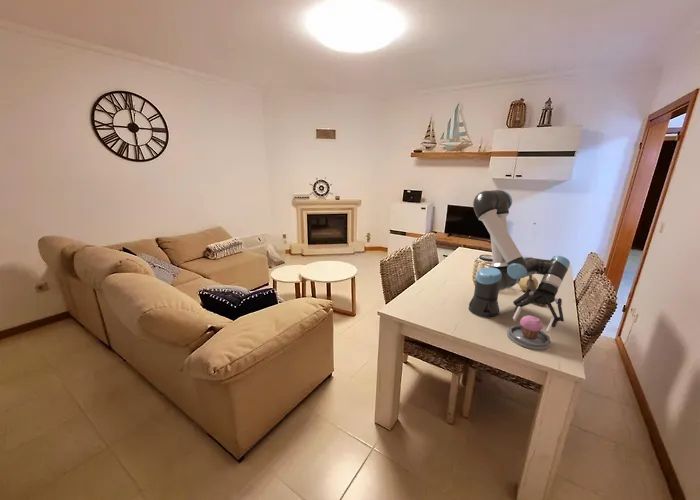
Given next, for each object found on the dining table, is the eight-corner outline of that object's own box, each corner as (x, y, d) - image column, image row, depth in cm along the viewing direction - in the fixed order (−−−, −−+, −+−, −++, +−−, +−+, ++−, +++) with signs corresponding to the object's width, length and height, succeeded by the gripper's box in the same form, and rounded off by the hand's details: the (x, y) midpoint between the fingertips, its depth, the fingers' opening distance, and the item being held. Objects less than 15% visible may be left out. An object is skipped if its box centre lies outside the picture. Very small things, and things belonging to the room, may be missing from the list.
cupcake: (544, 341, 129) (549, 321, 126) (525, 342, 128) (529, 322, 126) (531, 331, 137) (535, 311, 135) (513, 331, 137) (517, 312, 134)
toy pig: (520, 285, 193) (523, 270, 190) (539, 292, 183) (542, 276, 180) (511, 288, 188) (514, 273, 185) (530, 295, 178) (534, 279, 175)
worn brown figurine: (520, 304, 173) (518, 274, 171) (524, 301, 176) (522, 272, 174) (543, 307, 163) (541, 276, 161) (547, 305, 166) (545, 274, 164)
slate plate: (499, 336, 135) (500, 331, 135) (518, 325, 144) (519, 321, 144) (539, 355, 122) (540, 350, 121) (557, 342, 131) (558, 337, 130)
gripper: (582, 299, 128) (563, 341, 123) (521, 282, 146) (503, 318, 141) (581, 291, 123) (562, 334, 118) (518, 274, 142) (499, 311, 137)
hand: (530, 325), depth 130 cm, fingers open, 13 cm apart
